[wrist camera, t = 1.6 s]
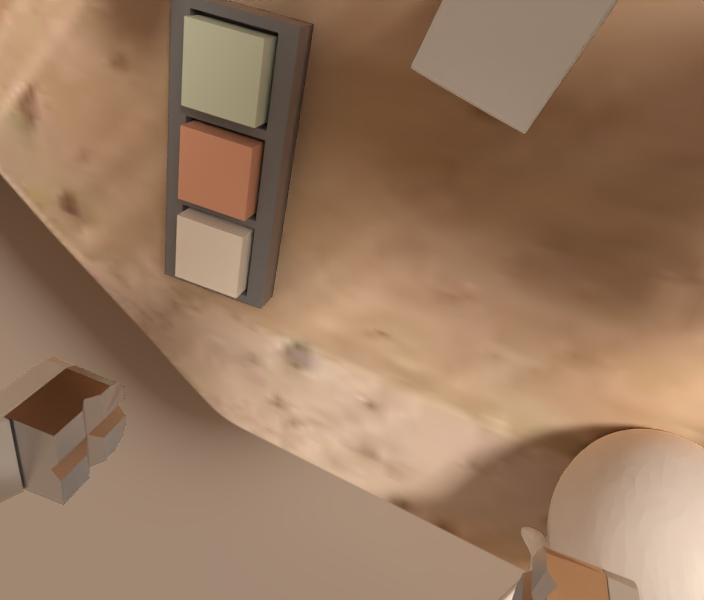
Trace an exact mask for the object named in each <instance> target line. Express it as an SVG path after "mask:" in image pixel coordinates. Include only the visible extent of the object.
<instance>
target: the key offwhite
mask: <svg viewBox="0 0 704 600" xmlns="http://www.w3.org/2000/svg"><path fill="white" fill-rule="evenodd" d="M253 234H254V229H253V228H250V227H247V226H244V225H241V224H238V223H235V222H232V221H229V220H226V219H223V218H221V217H218V216H215V215H212V214H209V213H206V212H203V211H200V210H197V209H194V208H191V207H190V208H188V209H186V210H185V211H183V212H181V213H180V214H178V215H177V236H176V265H175V276H176V277H179V278H182V279H184V280H187V281H190V282H192V283H195V284H198V285H201V286H203V287H206V288H209V289H212V290H214V291H217V292H220V293H222V294H225V295H228V296H231V297H233V298H237V297H238V296H239V295H240V294H241V293H242V292H243V291H244V290H245V289H246V288H247V284H248V276H249V267H250V259H251V251H252V242H253Z"/></svg>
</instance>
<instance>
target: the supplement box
mask: <svg viewBox="0 0 704 600" xmlns="http://www.w3.org/2000/svg"><path fill="white" fill-rule="evenodd" d="M617 1H618V0H442V1H441V4H440V6H439V8H438V10H437V12H436V14H435V16H434V18H433V21H432V23H431V25H430V27H429V29H428V31H427V33H426V36H425V38H424V40H423V42H422V44H421V46H420V48H419V50H418V52H417V54H416V56H415V58H414V60H413V62H412V65H411V69H413V70H414V71H416V72H417V73H419V74H420V75H422V76H424V77H425V78H427V79H429V80H430V81H432V82H434V83H435V84H437V85H439V86H441V87H442V88H444V89H446V90H447V91H449V92H451V93H453V94H454V95H456V96H458V97H459V98H461V99H463V100H465V101H466V102H468V103H470V104H472V105H473V106H475V107H477V108H479V109H480V110H482V111H484V112H486V113H487V114H489V115H491V116H492V117H494V118H496V119H498V120H499V121H501V122H503V123H505V124H506V125H508V126H510V127H512V128H514V129H516V130H517V131H519V132H521V133H523V134H525V133H526V132H527V131H528V129H529V128H530V126H531V125H532V123H533V122H534V121H535V119H536V118H537V116H538V115H539V113H540V112H541V110H542V109H543V108H544V106H545V105H546V103H547V102H548V100H549V99H550V97H551V96H552V95H553V93H554V92H555V90H556V89H557V87H558V86H559V85H560V83H561V82H562V80H563V79H564V77H565V76H566V75H567V73H568V72H569V70H570V69H571V68H572V66H573V65H574V63H575V62H576V60H577V59H578V58H579V56H580V55H581V53H582V52H583V50H584V49H585V48H586V46H587V45H588V43H589V42H590V40H591V39H592V38H593V36H594V35H595V33H596V32H597V30H598V29H599V28H600V26H601V25H602V23H603V22H604V20H605V19H606V17H607V16H608V15H609V13H610V12H611V10H612V9H613V7H614V6H615V4H616V3H617Z"/></svg>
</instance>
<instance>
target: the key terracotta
mask: <svg viewBox="0 0 704 600" xmlns="http://www.w3.org/2000/svg"><path fill="white" fill-rule="evenodd" d="M264 143H265V142H264V141H261V140H257V139H254V138H251V137H248V136H245V135H242V134H239V133H235V132H232V131H229V130H226V129H223V128H220V127H216V126H213V125H210V124H207V123H204V122H201V121H197V120H193V121H190V122H188V123H185V124H182V125H180V151H179V179H178V199H181V200H184V201H187V202H190V203H193V204H196V205H199V206H202V207H204V208H207V209H210V210H213V211H216V212H219V213H222V214H225V215H228V216H231V217H234V218H237V219H239V220H242V221H246V220H247V219H248V218H249V217H251V216H252V215H253V214H255V213H256V209H257V201H258V193H259V184H260V176H261V168H262V160H263V151H264Z"/></svg>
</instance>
